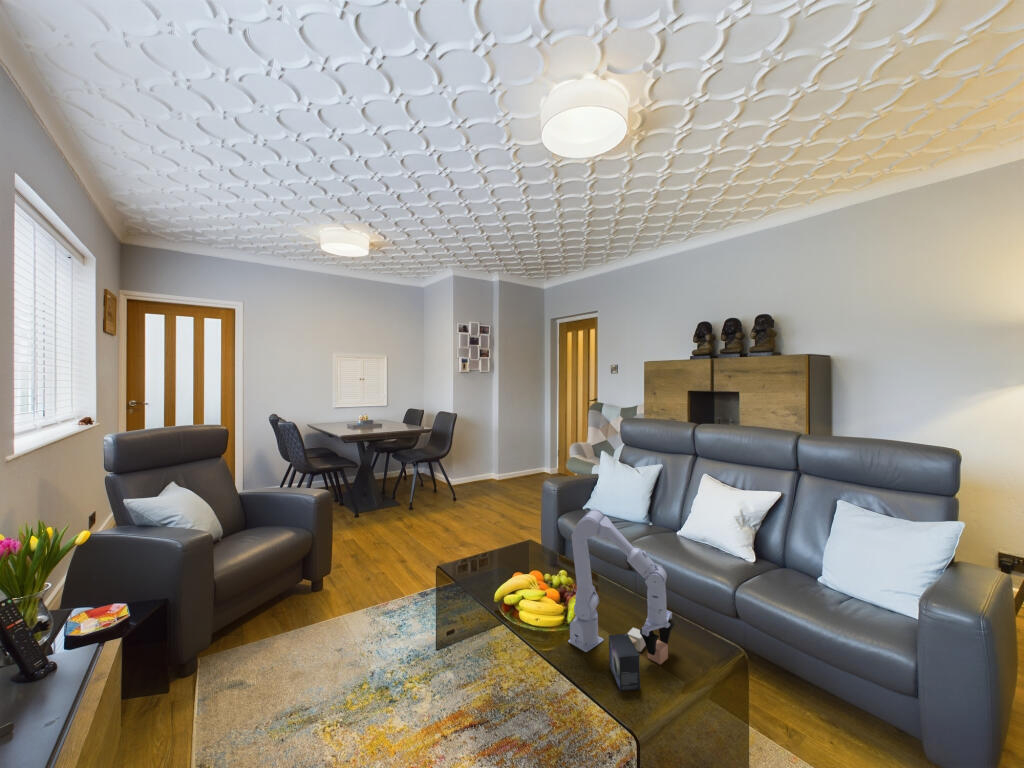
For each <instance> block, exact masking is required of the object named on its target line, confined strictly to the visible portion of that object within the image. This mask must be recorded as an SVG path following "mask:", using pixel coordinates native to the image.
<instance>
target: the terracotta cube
mask: <svg viewBox="0 0 1024 768" xmlns="http://www.w3.org/2000/svg"><path fill="white" fill-rule="evenodd" d="M668 644H669V643H668ZM668 644H666V643H664V642H662V641H660V639H657V642H656V651H655V655H651V654H649V653H648V651H647V650H646V651H647V652H646V653H647V659H649V660H651V661H653V662H655V663H657V664H658V665H662V664H663V663H664V662H665V661H667V659H669V646H668Z"/></svg>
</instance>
